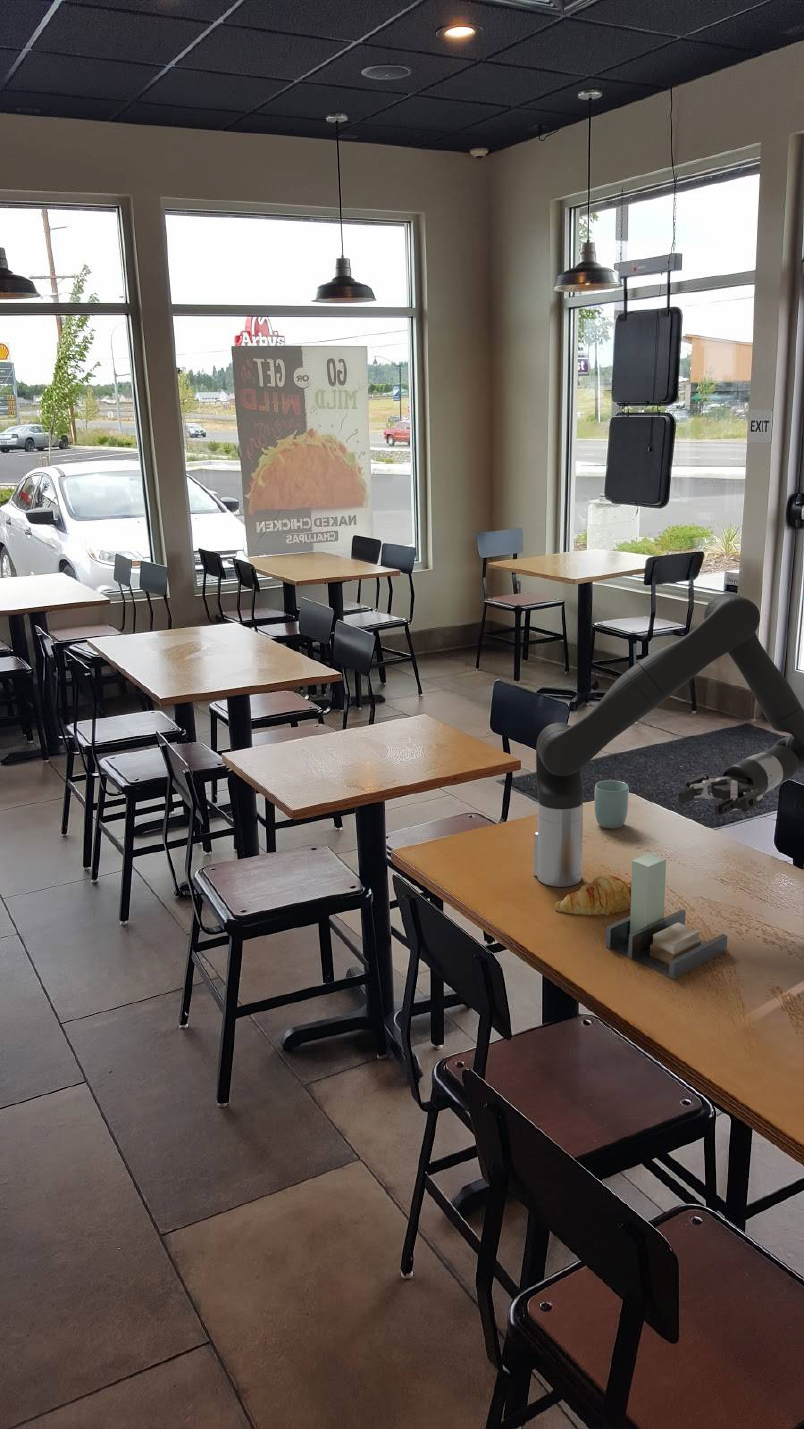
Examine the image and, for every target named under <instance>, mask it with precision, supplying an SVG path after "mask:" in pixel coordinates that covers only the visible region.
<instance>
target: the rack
mask: <svg viewBox="0 0 804 1429" xmlns="http://www.w3.org/2000/svg"><path fill="white" fill-rule="evenodd" d="M686 913H687V912H686V910H685V909H680V910H678V911H676V912H673V913H672V914H670V915H667V916H664V918H663V919H661V920H659V921H657V922H654V923H652V924H650V925H648V926H646V927H644V928H642V929H640V930H638V931H636V932H634V933H632V934H630V915H629V916H627V917H625V918H623V919H621V920H617V921H616V922H614V923H612V924H610V925H607V926H606V928H605V929H606V930H605V933H606V934H605V948H607V949H609V950H611V951H614V952H615V953H617V954H619V955H622V956H623V957H625V958H628V959H630V960H632V961H635V962H637V964H641V965H642V966H644V967H646V968H649V969H651V970H653V971H654V972H657V973H659V974H662V975H663V976H665V977H667V978H670V979H671V980H676V979H677V978H679V977H681V976H684V975H685V974H687V973H689V972H690V971H692V970H694V969H697V968H699V966H702V965H704V964H705V963H707V962H709V961H711V960H713V959H715V958H717V957H718V956H720V955H722V954H724V953H726V952H727V950H728V935H726V934H724V933H722V934H720V935H717V936H716V937H714V938H712V939H710V940H708V941H705V940H702V939H700V938H699V940H700V941H701V945H700V946H698V947H697V948H695V949H693V950H691V951H689V952H687V953H685V954H683V955H681V956H679V957H677V958H675V959H673V960H672V961H670V964H667V963H665V962H663V961H661V960H659V959H657V958H655V957H652V956H650V945H652V944H653V935H654V934H656V933H658V932H660V931H662V930H664V929H666V928H668V927H670V926H672V925H674V924H676V923H681V924H683V925H685V926H686V916H687V915H686Z"/></svg>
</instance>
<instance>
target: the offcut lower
mask: <svg viewBox="0 0 804 1429" xmlns="http://www.w3.org/2000/svg"><path fill="white" fill-rule="evenodd" d="M700 940H701V939H700ZM700 940H699V942H697V943H695V944H693V945H691V946H689V947H687V948H685V949H683V950H681V951H679V952H677V953H675V954H672V953H670V952H668V951H666V950H663V949H661V948H659V947H657V946H655V945H653V944H652V945H650V956H652V957H655V958H657V959H659V960H661V961H663V962H665V963H667V964H670V961H672V960H673V959H675V958H677V957H679V956H681V955H683V954H685V953H687V952H689V951H691V950H693V949H695V948H697V947H698V946H700V945H701V941H700Z"/></svg>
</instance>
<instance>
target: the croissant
mask: <svg viewBox="0 0 804 1429" xmlns="http://www.w3.org/2000/svg"><path fill="white" fill-rule="evenodd" d="M631 885H632V881H631V882H630V881H629V880H624V879H621V878H619V877H617V876H614V875H609V874H607V875H600V876H598V877H595V878H594V879H592V881H591V882H589V883H585V884H583V885H582V886H581V887H580V888H579V890H577V891H575V892H572V893H568V894H567V895H566V896H565V897H564V899H563V900H558V901H557V902H555V904H554V908H555V911H557V912H560V913H568V914H575V915H585V916H586V915H588V916H591V915H594V916H595V915H606V916H611V915H614V914H617V913H622V912H625V911H628V910H631Z"/></svg>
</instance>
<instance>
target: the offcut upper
mask: <svg viewBox="0 0 804 1429" xmlns="http://www.w3.org/2000/svg"><path fill="white" fill-rule="evenodd" d="M699 939H700V931H699V930H697V929H694V928H692V927H690V926H687V925H686V924H685V925H683V924H681V923H676V924H674V925H672V926H670V927H668V928H666V929H664V930H662V931H660V932H658V933H656V934H654V935H653V945H655V946H657V947H659V948H661V949H663V950H666V951H668V952H670V953H672V954H675V953H677V952H679V951H681V950H683V949H685V948H687V947H689V946H691V945H693V944H695V943H697V942H699Z"/></svg>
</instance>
